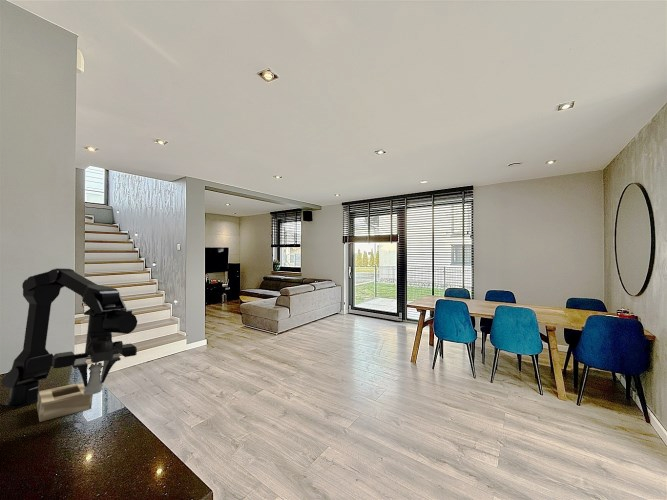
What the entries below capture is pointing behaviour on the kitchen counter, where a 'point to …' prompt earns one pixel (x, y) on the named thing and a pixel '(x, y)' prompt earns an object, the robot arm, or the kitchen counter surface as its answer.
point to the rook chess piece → (94, 380)
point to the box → (62, 401)
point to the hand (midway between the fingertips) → (93, 384)
